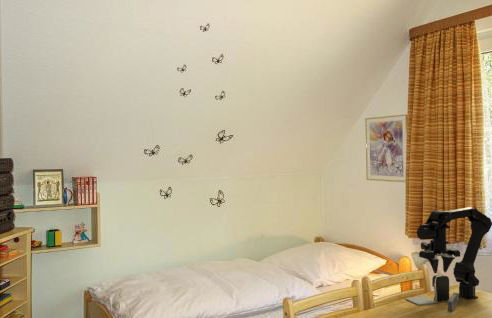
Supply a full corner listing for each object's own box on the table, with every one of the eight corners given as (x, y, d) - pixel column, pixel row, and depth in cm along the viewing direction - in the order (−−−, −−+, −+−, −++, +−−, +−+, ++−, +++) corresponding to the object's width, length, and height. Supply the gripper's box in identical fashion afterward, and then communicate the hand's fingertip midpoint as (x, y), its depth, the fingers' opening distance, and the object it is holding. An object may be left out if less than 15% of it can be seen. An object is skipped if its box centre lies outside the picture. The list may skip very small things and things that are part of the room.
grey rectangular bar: (453, 301, 188) (453, 292, 188) (458, 302, 187) (458, 293, 187) (446, 310, 176) (446, 301, 176) (452, 311, 175) (452, 302, 175)
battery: (444, 298, 193) (443, 273, 194) (450, 300, 190) (449, 275, 190) (431, 299, 191) (430, 274, 192) (437, 302, 188) (436, 276, 188)
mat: (423, 297, 195) (423, 296, 195) (437, 303, 186) (437, 301, 186) (405, 299, 192) (405, 298, 192) (419, 305, 183) (419, 304, 183)
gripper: (442, 234, 202) (443, 267, 201) (410, 236, 196) (411, 270, 196) (461, 238, 191) (461, 272, 191) (427, 240, 185) (428, 276, 185)
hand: (440, 272), depth 191 cm, fingers open, 5 cm apart
